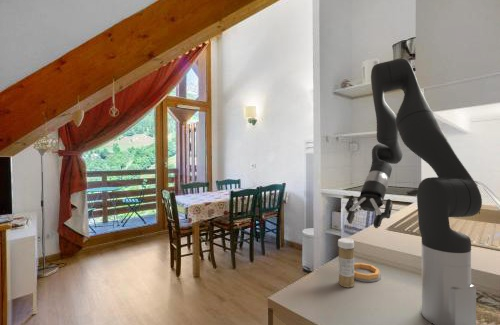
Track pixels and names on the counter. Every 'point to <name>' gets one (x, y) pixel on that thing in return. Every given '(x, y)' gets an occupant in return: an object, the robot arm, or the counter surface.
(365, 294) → the counter surface
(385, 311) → the counter surface
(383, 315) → the counter surface
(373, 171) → the robot arm
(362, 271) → the orange rimmed grey dish
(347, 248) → the spice jar
